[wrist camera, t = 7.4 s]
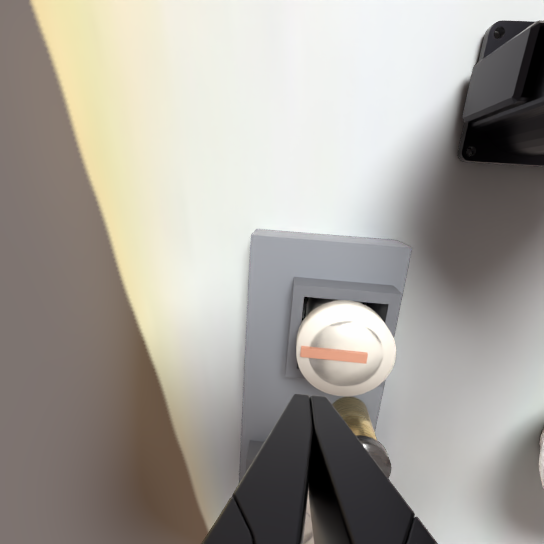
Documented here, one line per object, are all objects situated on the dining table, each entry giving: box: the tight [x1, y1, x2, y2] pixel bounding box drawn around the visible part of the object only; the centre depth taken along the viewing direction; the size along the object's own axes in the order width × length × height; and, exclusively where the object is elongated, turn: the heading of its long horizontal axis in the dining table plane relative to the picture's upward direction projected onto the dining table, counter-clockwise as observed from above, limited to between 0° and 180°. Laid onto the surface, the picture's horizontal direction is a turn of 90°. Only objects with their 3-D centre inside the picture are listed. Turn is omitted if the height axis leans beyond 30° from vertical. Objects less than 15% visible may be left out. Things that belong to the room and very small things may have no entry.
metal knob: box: [332, 396, 391, 478], centre depth 17 cm, size 3×3×4 cm
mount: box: [239, 229, 412, 483], centre depth 20 cm, size 9×21×4 cm, turn 176°
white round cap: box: [296, 297, 396, 396], centre depth 17 cm, size 5×5×6 cm
